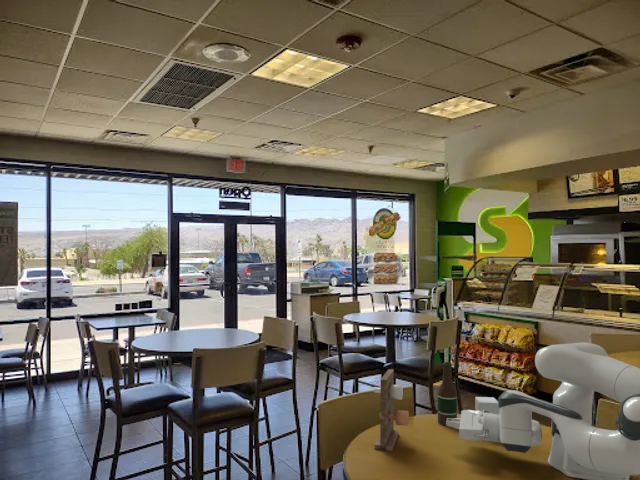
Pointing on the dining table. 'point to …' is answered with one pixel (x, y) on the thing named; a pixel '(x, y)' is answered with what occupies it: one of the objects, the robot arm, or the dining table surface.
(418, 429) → the dining table surface
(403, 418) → the terracotta plug
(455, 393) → the beer bottle
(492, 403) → the supplement box
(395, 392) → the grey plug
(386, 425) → the plug panel
